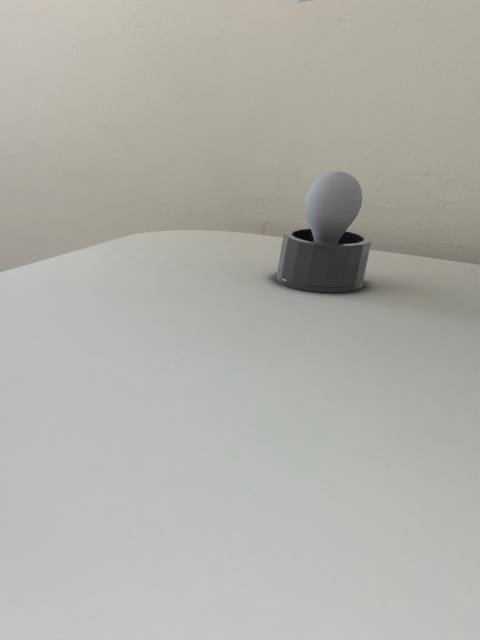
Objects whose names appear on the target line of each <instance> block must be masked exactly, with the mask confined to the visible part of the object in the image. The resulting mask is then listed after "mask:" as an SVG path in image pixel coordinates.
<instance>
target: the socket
mask: <svg viewBox="0 0 480 640" xmlns="http://www.w3.org/2000/svg"><path fill="white" fill-rule="evenodd" d="M372 241H373V238H372V237H370V236H369V235H367V234H366V233H362V232H358V231H355V230H350V229H347V230H346V231H345V233H344V234H343V235H342V237H341V238H340V239H339V241H338V244H326V243H316V242H314V238H313V234H312V231H311V228H310V226H306V227H295V228H292V229H288V230H285V231H284V233H283V237H282V243H281V248H280V254H279V260H278V266H277V272H276V275H277V276H276V280H277V282H279V283H280V284H282V285H284V286H287V287H290V288H293V289H297V290H301V291H307V292H315V293H327V294H328V293H330V294H331V293H332V294H333V293H335V294H337V293H349V292H353V291H357V290H359V289H361V288H362V287H363V283H364V279H365V275H366V270H367V265H368V264H367V263H368V262H369V261H368V260H369V257H370V256H369V255H370V251H371V246H372Z"/></svg>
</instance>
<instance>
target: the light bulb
mask: <svg viewBox="0 0 480 640" xmlns="http://www.w3.org/2000/svg"><path fill="white" fill-rule="evenodd" d="M362 203H363V190H362V187H361V185H360V183H359V181H358V180H357V179H356V178H355V177H354V176H353V175H351V174H349V173H347V172H345V171H340V170H336V171H335V170H334V171H330V172H326V173H324V174H322V175H321V176H319V177H318V178H316V180H314V181H313V183H312V184H311V185H310V187H309V188H308V190H307V191H306V195H305V200H304V213H305V216H306V220H307V222H308V226H309V227H310V228H311V231H312V234H313V238H314V242H316V243H326V244H338V241H339V239H340V238H341V237H342V235H343V234H344V233H345V231H346V230H349V227H350V226H351V225H352V224H353V222H354V221H355V220H356V218H357V217H358V215H359V213H360V212H361V208H362Z"/></svg>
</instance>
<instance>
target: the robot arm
mask: <svg viewBox="0 0 480 640" xmlns="http://www.w3.org/2000/svg"><path fill="white" fill-rule="evenodd" d="M294 1H295V3H303V2H310V1H312V0H294Z"/></svg>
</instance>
